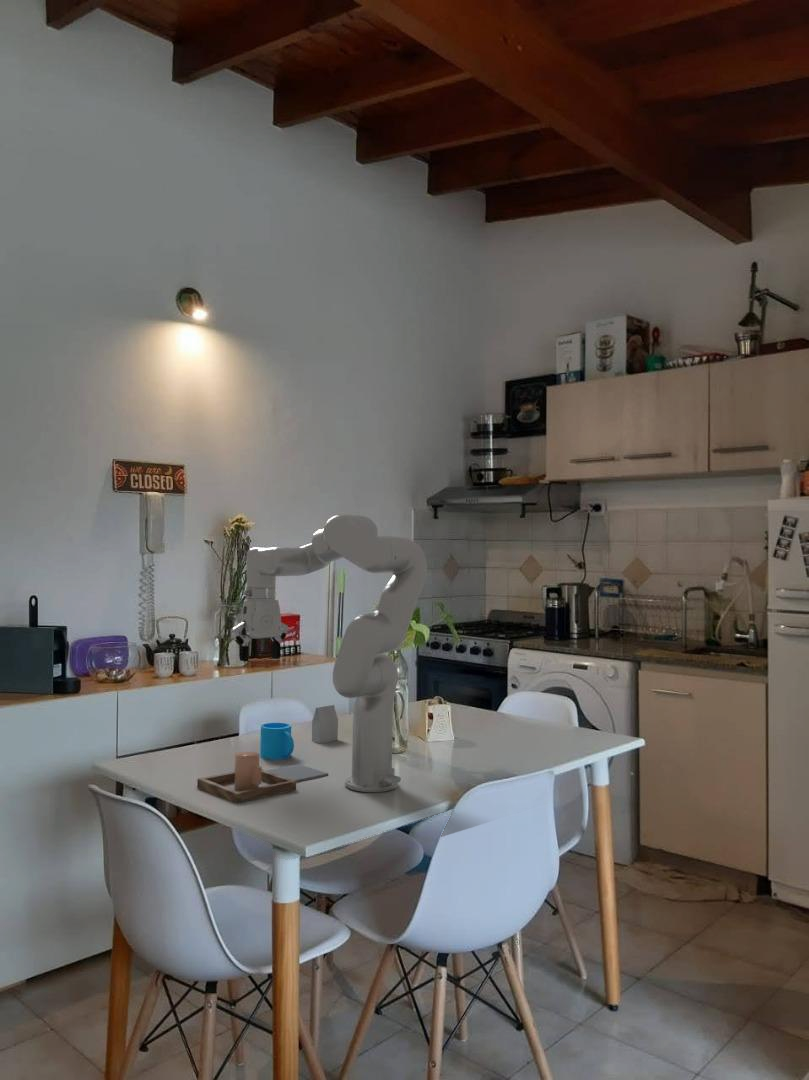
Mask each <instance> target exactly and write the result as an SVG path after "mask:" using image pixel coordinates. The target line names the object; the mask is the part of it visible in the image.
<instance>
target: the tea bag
mask: <svg viewBox="0 0 809 1080" xmlns="http://www.w3.org/2000/svg"><path fill="white" fill-rule="evenodd" d="M338 734H339V718H338V716H337V711H336V706H335V704H331V705H325V706H317V707H315V711H314V714H313V717H312V721H311V742H315V743H317V744H324V743H329V742H335V741H338V738H339V737H338Z"/></svg>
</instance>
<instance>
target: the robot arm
mask: <svg viewBox="0 0 809 1080" xmlns="http://www.w3.org/2000/svg"><path fill="white" fill-rule="evenodd" d="M378 534H379V530H378V527H377V525H376V523H375V522H374V521H373V520H372V519H371V518H369V517H368V516H364V515H358V514H357V515H356V514H337V515H334V516H332V517H331V518H329V519H328V520H327V521H326V523H325V525H324V527H323V528H320V529H317V531H315V532H314V533H313V535H312V538H311V543H309V544H308V543H307V544H306V545H303V546H274V547H251V548H249V549H248V550H247V553H246V554H247V555H246V589H245V590H243V591H242V595H243V596H244V597H245V598H246V599H244V600H243V605H242V611H241V619H240V623H238V624H237V625H236V626H234V627H233V628H231V629H230V634H231V635H232V638H233V641H235V643H236V645H237V646H239V647H238V649H239V650H238V657H239V661H240V662H248V661H249V656H250V655H249V654H250V653H249V652H250V651H249V648H250V647H249V646H248V644H249V643H250V641H251V639H255V640H256V639H268V638H269V639H271V641H272V642H271V644H270V658H272V659H276V660H278V659H280V657H281V656H280V655H281V644H282V643H283V640H284V639H285V638H286V637H287V633H288V632H289V628H290V627H289V626H288V625H287V624H285V623H283V622H282V617H281V616H282V615H281V609H280V603H279V599H277V598H276V577H292V576H293V577H294V576H297V577H298V576H300V577H301V576H304V575H308V574H311V573H314V572H318V571H320V570H322V569H324V568H326V567H327V566H329V565H330V564H331V563H332V562H334V561H337V560H340V559H343V558H344V559H345V560H347V561H348V562H350V563H351V564H353V565H355V566H356V567H357V568H360V569H361V570H362V571H366V572H368V573H371V574H383V573H384V574H385V573H387V574H389V573H392V576H391V578H390V579H389V581H388V582H387V583H386V585H385V587H384V588H383V590H382V592H381V594H380V598H379V601H378V602H377V603H378V604H377V606H376V608H375V610H374V611H373V612H369V613H363V614H360V615H358V616H356V617H354V618H353V619H352V620H351V621H350V622H349V624H348V625H347V628H346V629H345V631H344V634H343V637H342V641H341V643H340V647H339V650H338V652H337V656H336V659H335V662H334V664H333V668H332V669H333V670H332V684H333V687H334V689H335V691H336V692H337V693H338V694H339V695H340V696H342V697H344V698H347V699H352V698H353V699H355V701H354V705H353V711H352V712H353V714H352V715H353V716H352V718H353V719H352V747H351V748H352V750H351V751H352V752H351V753H352V755H351V756H352V757H351V776H349V777H347V778H346V779H345V780H344V785H345V787H346V788H347V789H350V790H352V791H356V792H361V793H362V792H364V793H382V792H383V791H384V792H388V791H392V790H394V789H396V788H397V787H398V786H399V783H401V780H402V777H401V776H398V775H395V768H393V725H394V724H393V723H394V722H393V721H394V705H395V704H394V703H395V701H394V700H395V694H396V689H397V684H398V675H399V674H398V667H397V663H396V662H395V661H394V660H393V658H392V657H390V656H389V655H388V654H386V653H390V652H394V651H397V650H398V649H399V648H401V646H402V645H403V644H404V642H405V639H406V635H407V634H408V630H409V627H410V624H411V621H412V618H413V615H414V612H415V609H416V606H417V603H418V600H419V597H420V594H421V592H422V590H423V588H424V585H425V581H426V578H427V571H428V564H427V559H426V555H425V553H424V551H423V549H422V548H421V546H420V545H419V544H418V543H417V542H415V541H414V540H413V539H410V538H407V537H405V536H404V537H403V536H395V535H393V536H385V535H383V536H382V535H378ZM239 632H240V634H239ZM240 635H241V636H240Z"/></svg>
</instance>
